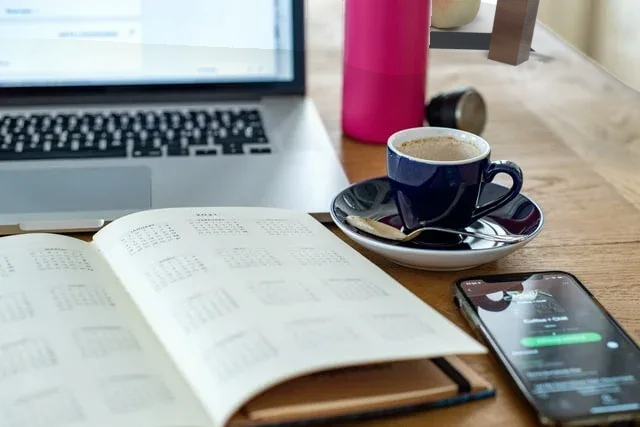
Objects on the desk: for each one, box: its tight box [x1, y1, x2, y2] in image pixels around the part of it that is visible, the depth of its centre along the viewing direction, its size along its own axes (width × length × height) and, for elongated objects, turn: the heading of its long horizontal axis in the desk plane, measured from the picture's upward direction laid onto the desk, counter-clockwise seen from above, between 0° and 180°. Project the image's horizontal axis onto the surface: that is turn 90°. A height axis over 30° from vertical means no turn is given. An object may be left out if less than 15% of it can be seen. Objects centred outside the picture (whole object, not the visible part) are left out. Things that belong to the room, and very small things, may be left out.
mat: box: [428, 30, 536, 53], centre depth 125 cm, size 16×9×1 cm, turn 99°
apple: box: [430, 0, 482, 29], centre depth 132 cm, size 9×9×8 cm
